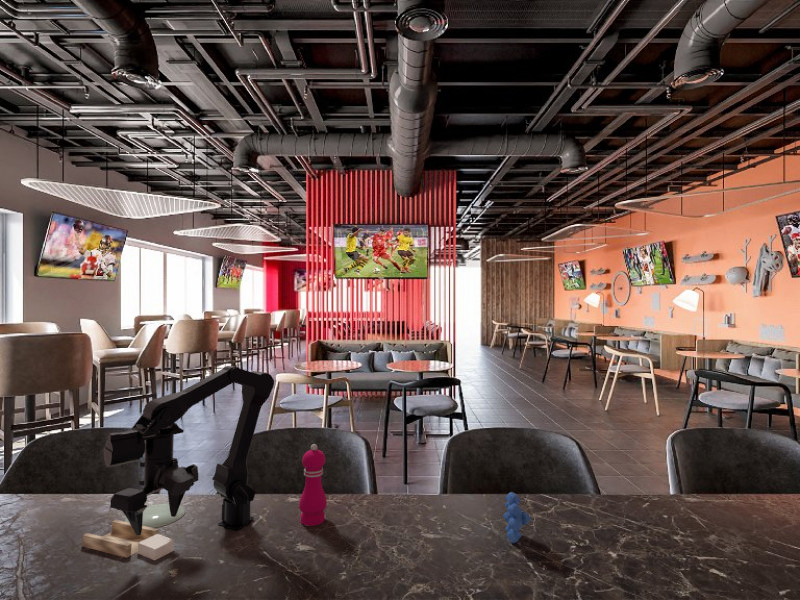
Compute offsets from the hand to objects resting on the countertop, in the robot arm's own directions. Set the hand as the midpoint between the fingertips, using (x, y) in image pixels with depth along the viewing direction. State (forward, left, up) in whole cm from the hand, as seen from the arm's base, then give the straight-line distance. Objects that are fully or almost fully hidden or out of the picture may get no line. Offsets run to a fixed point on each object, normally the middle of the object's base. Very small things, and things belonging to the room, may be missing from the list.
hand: (156, 525), depth 97 cm
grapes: (-77, -33, -6) cm, 84 cm away
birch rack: (+11, 0, -6) cm, 12 cm away
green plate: (+15, -13, -6) cm, 21 cm away
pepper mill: (-25, -26, -6) cm, 37 cm away
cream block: (0, 0, -6) cm, 7 cm away
